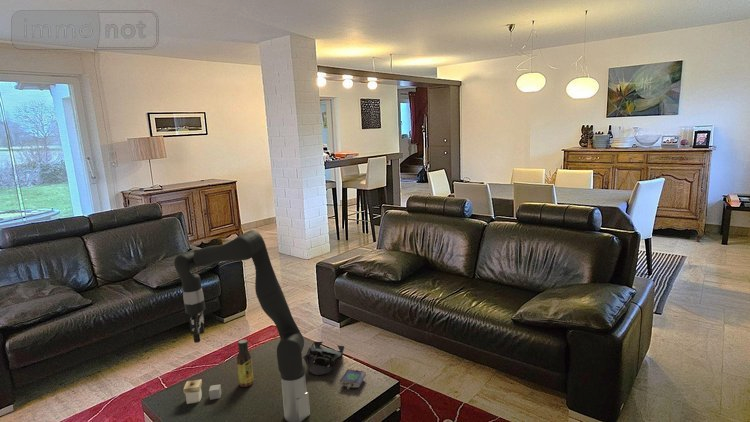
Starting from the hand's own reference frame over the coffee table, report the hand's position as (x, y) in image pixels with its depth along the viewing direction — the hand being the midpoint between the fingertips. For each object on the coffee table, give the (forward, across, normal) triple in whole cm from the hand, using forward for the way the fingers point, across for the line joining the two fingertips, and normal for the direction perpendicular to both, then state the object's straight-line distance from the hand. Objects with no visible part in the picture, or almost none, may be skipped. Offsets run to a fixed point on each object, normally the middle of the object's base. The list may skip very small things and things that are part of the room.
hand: (199, 337), depth 174 cm
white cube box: (+27, 0, -6) cm, 27 cm away
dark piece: (+29, -14, +49) cm, 59 cm away
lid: (+22, 0, -5) cm, 23 cm away
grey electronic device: (+29, +2, +62) cm, 69 cm away
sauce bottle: (+28, -7, +15) cm, 32 cm away
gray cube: (+27, 0, +3) cm, 27 cm away
